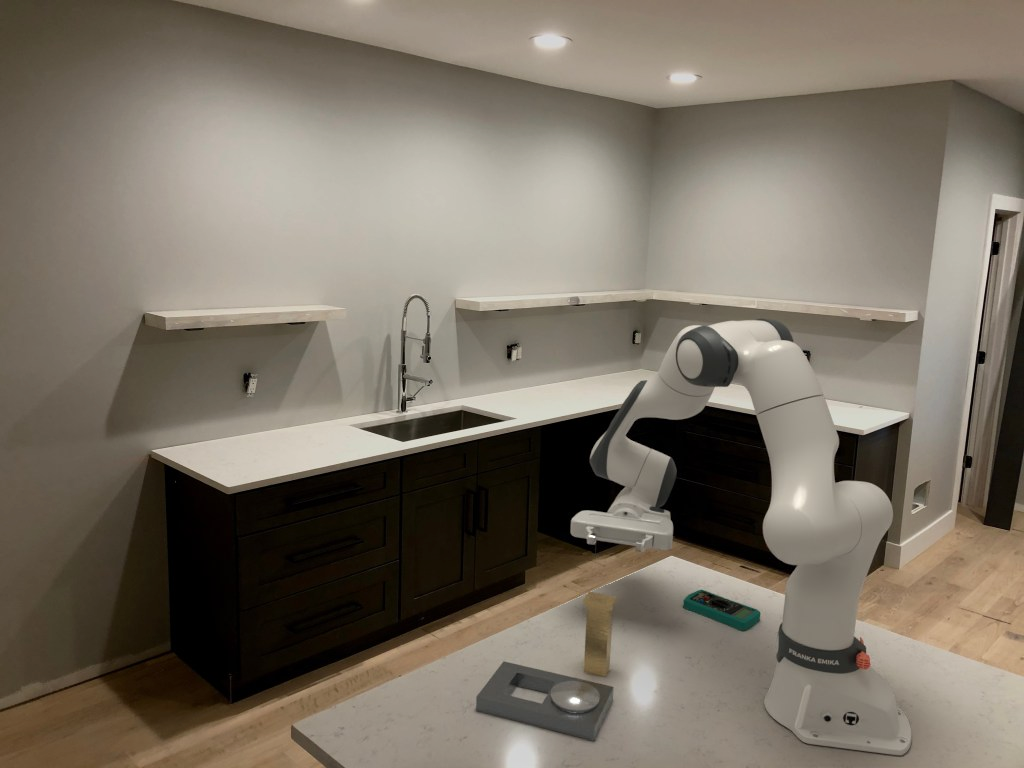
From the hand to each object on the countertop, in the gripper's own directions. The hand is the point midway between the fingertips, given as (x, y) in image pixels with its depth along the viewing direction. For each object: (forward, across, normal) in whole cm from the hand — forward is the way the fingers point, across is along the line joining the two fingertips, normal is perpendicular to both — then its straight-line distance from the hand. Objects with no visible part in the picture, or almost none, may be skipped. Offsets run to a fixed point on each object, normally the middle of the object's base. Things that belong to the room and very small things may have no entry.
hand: (614, 544), depth 152 cm
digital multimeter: (-19, +20, +20) cm, 34 cm away
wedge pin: (+12, 0, +20) cm, 23 cm away
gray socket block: (+26, -6, +20) cm, 33 cm away
